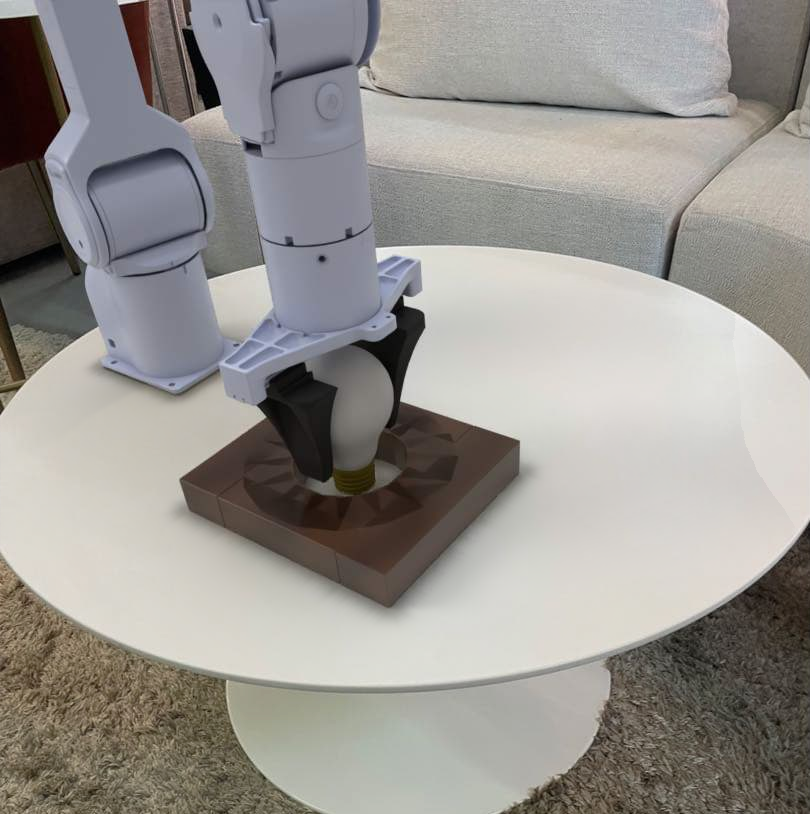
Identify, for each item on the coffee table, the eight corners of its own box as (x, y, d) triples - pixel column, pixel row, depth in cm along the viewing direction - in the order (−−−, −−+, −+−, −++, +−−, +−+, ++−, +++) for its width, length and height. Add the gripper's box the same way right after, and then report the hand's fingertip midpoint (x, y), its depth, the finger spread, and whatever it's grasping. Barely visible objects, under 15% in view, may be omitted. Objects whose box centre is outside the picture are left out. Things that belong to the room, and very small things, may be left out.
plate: (188, 510, 51) (178, 479, 50) (329, 405, 59) (324, 375, 58) (389, 608, 44) (384, 575, 42) (519, 472, 52) (520, 440, 50)
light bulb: (391, 525, 49) (375, 380, 42) (298, 518, 50) (269, 376, 43) (410, 466, 53) (398, 327, 46) (324, 461, 54) (301, 324, 47)
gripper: (275, 299, 34) (321, 538, 43) (462, 188, 42) (468, 408, 51) (164, 268, 37) (228, 495, 46) (358, 171, 46) (380, 380, 55)
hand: (348, 448), depth 49 cm, fingers closed on light bulb, 6 cm apart
